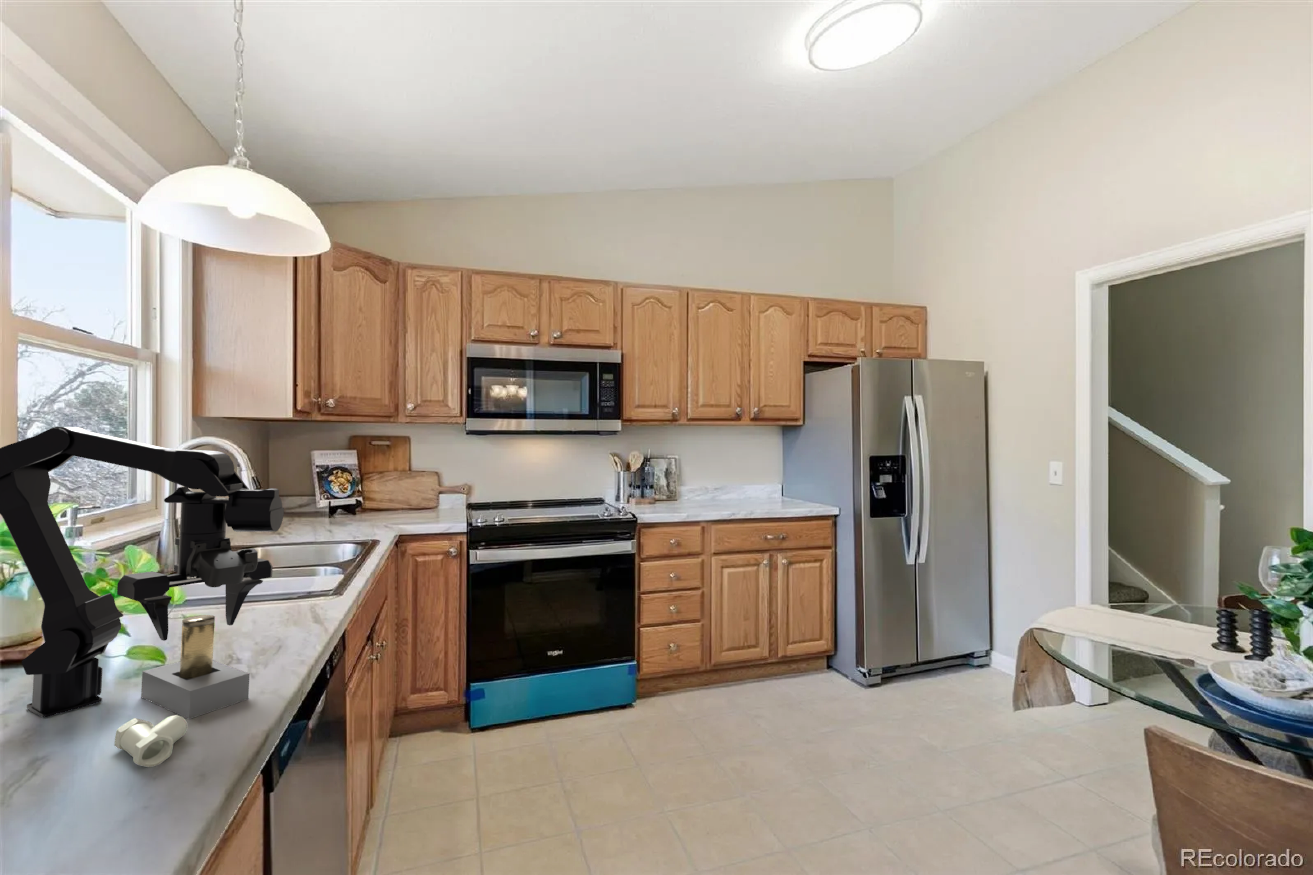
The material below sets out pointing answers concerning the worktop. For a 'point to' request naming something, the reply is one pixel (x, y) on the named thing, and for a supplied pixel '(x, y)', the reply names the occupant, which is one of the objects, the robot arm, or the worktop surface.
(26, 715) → the worktop surface
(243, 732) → the worktop surface
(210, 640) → the brass plug
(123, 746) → the pipe fitting
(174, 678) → the block
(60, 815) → the worktop surface
